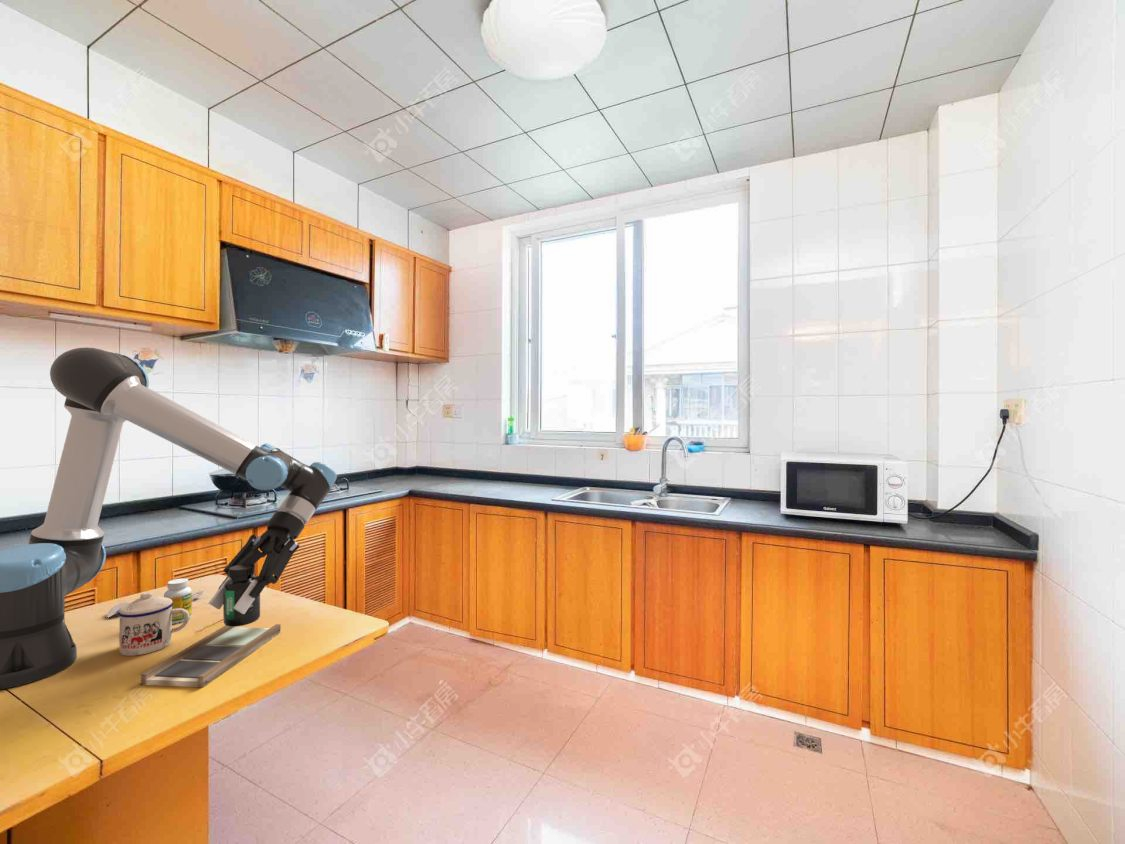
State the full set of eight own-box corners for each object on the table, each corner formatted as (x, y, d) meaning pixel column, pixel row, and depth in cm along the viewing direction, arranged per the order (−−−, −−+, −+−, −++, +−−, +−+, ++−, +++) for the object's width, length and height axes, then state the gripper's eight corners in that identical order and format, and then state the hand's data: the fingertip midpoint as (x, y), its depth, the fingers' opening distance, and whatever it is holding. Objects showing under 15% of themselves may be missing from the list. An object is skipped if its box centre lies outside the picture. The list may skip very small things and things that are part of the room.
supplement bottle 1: (171, 616, 123) (171, 577, 123) (195, 614, 124) (196, 576, 124) (158, 625, 118) (158, 585, 117) (184, 623, 119) (184, 583, 119)
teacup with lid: (111, 660, 101) (111, 603, 100) (125, 642, 109) (125, 589, 109) (184, 648, 106) (184, 594, 106) (192, 632, 114) (193, 581, 114)
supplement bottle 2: (229, 630, 105) (228, 573, 105) (219, 621, 109) (219, 567, 109) (264, 620, 110) (264, 566, 110) (254, 612, 115) (253, 560, 114)
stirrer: (201, 581, 138) (205, 586, 134) (202, 594, 138) (206, 598, 134) (104, 605, 123) (105, 610, 120) (105, 619, 124) (106, 624, 120)
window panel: (141, 684, 92) (141, 674, 92) (230, 631, 115) (230, 622, 115) (203, 687, 91) (203, 676, 91) (280, 632, 114) (280, 624, 114)
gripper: (330, 530, 121) (271, 623, 105) (270, 523, 127) (206, 610, 112) (313, 512, 115) (247, 607, 100) (251, 506, 122) (181, 594, 107)
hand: (226, 608), depth 106 cm, fingers closed on supplement bottle 2, 7 cm apart
